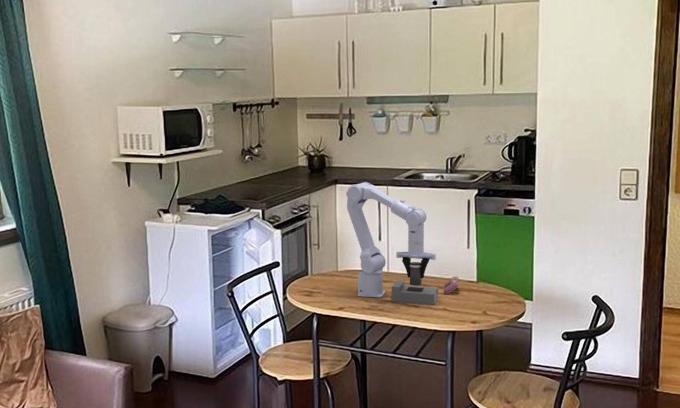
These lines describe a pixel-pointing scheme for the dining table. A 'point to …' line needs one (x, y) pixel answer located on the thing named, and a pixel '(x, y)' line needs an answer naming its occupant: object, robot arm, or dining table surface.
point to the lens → (415, 273)
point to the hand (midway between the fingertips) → (415, 277)
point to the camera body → (413, 293)
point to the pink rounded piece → (451, 285)
